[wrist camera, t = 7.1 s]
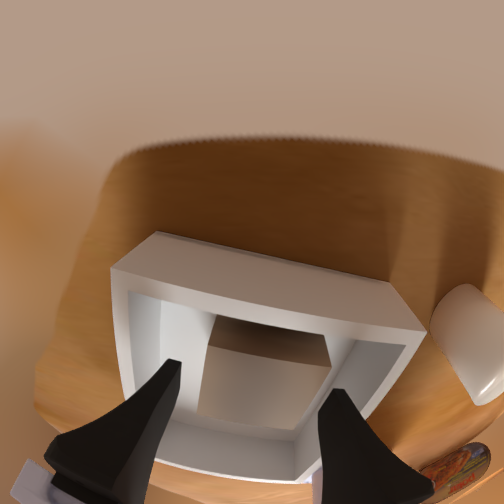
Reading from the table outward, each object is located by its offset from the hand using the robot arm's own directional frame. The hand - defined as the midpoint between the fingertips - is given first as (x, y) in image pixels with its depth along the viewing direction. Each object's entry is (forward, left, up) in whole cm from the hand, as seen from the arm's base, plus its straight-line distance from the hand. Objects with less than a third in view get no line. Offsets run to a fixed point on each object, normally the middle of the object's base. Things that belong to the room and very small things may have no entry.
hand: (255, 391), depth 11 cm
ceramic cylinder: (-14, -4, -5) cm, 15 cm away
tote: (0, +4, -5) cm, 6 cm away
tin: (-39, +24, -5) cm, 46 cm away
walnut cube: (0, 0, -4) cm, 4 cm away
